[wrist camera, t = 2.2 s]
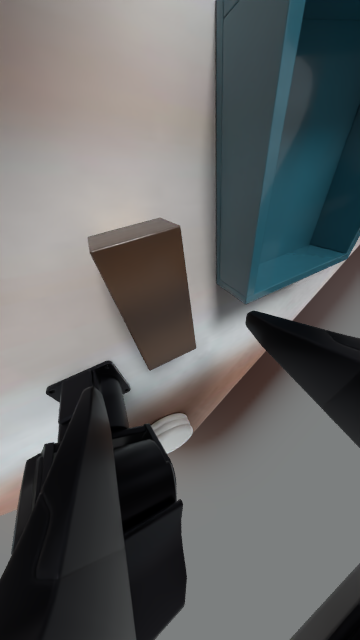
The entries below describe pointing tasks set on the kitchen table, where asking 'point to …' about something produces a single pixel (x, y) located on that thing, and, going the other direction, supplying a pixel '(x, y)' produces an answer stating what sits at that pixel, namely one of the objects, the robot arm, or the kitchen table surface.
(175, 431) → the coaster
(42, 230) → the kitchen table surface
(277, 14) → the open box
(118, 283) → the tall brown box
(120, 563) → the robot arm
